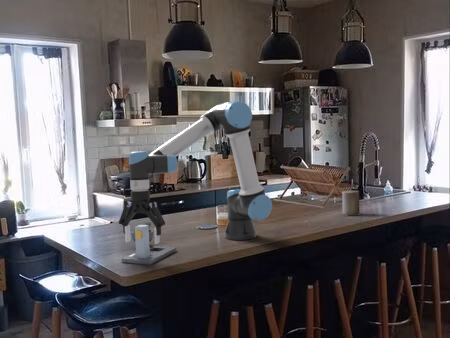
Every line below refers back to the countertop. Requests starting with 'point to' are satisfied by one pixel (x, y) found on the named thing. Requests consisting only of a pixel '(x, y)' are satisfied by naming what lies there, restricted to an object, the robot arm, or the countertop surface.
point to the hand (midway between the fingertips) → (142, 242)
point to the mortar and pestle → (149, 232)
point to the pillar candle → (350, 202)
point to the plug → (142, 241)
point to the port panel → (155, 255)
